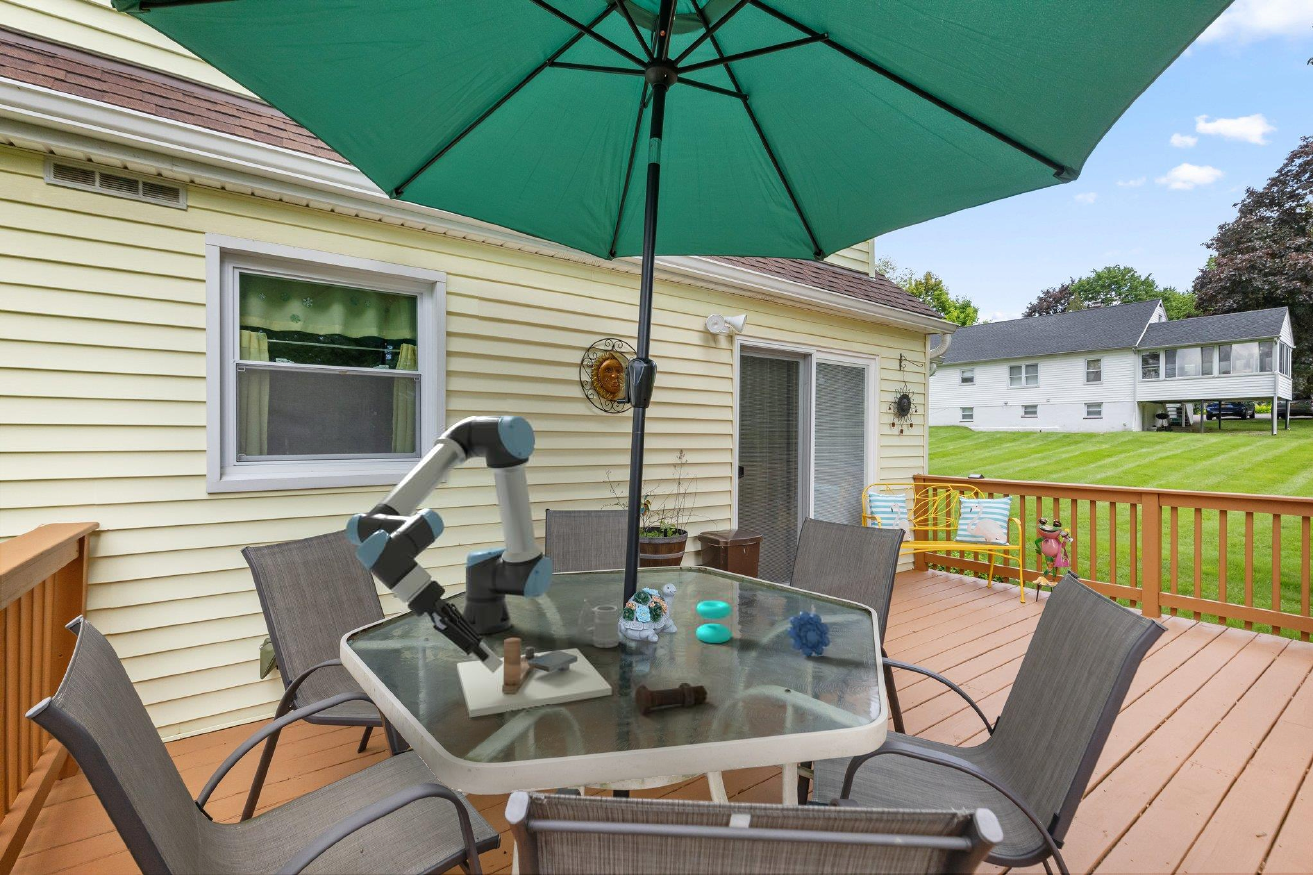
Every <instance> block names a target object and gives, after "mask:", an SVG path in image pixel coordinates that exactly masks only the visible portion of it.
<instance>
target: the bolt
mask: <svg viewBox="0 0 1313 875" xmlns="http://www.w3.org/2000/svg"><path fill="white" fill-rule="evenodd" d="M707 696H708V691H707V689H706V687H705V686H704V685H702V684H701V685H694V686H692V685H691V684H690V683H688V682H682V683H680V684H679V686H678V687H676V688H665V689H657V690H654V689H652V690H650V689H649V688H648V687H647V686H646V685H645V684H641V685H639V686H638V687H637V688H636V690H635V705H636V710H637V711H638V713H639V714H640V715H642V716H645V715H649V714H650V711H651V709H654V708H658V707H659V708H660V707H667V706H668V707H669V706H674V705H675V706H677V705H680V706H681V707H683V708H685V709H686V708H691V707H692V706H693V705H694V703H701V702H705V701H706V700H707V699H708V697H707Z"/></svg>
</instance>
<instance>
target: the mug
mask: <svg viewBox="0 0 1313 875" xmlns="http://www.w3.org/2000/svg"><path fill="white" fill-rule="evenodd" d="M590 606H591V604H590V603H589V601H588V600H587V599H584V600H583V607H582V610H581V611H580V615H579V617H578V621H577V624H578V625H577V626H578V627H577V629H578V630H577V631H578V634H579V635H580V637H581V639H582V640H585V639H586V637H588V636H589V635H592V636H591V640H592V645H593V646H594V647H596V648H600V649H604V648H605V649H609V648H610V649H611V648H614V647H616V646H618V645H619V641H620V636H621V635H620V634H619V623H620V618H619V611H618V610H619V609H618V607H617V606H615V605H599V606H595V607H594V608H591V607H590ZM589 614H594V616H593V622H592V623H593V627H592V626H591V627H590V628H587V627H586V625H585V622H586V617H587V616H588V615H589Z"/></svg>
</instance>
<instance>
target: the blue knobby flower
mask: <svg viewBox="0 0 1313 875" xmlns="http://www.w3.org/2000/svg"><path fill="white" fill-rule="evenodd" d="M789 623H790V625H791V626H789V627H788V628H787V630H786V633H787V636H788V637H789V638H790V639H792V640H791V646H792V648H793V649H794V650H796V651H800V650H801V652H802V655H804V656H805V655H806V656H805V657H808V656H810V657H812V656H811V655H813V654H815V655H816V654H817V655H816V656H821V655H822V656H823V654H824V651H825V650H824V647H825V648H827V647H829V646H830V645H831V640H830V638H829V637H828V635H829V633H830V627H829V626H828V625H827V624H826V623H823V622H822V617H821V616H820V615H819V614H817V613H813V614H810V612H808V611H805V610H802V611H801V610H800V612H799V614H798V616H797V615H793V616H791V617H790V619H789Z"/></svg>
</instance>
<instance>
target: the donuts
mask: <svg viewBox="0 0 1313 875" xmlns="http://www.w3.org/2000/svg"><path fill="white" fill-rule="evenodd" d="M731 612H732V607H731V605H730V604H729V603H727V602H724V601H720V600H705V601H704V600H703V601H701V602H699V603H698V604H697V606H696V613H698V615H699V616H700V617H701V618H705V619H709V620H722V619H725V618H727V617H728V616H730V614H731ZM695 632H696V633H695V634H696V637H697V639H699V640H700V641H702V642H704V643H710V644H722V642H723V643H726V642H728V641H729V640H730V639H731V637H732V632H731V630H730V628H728V627H727V626H725V625H723V624H719V623H705V624H703V625H700V626H699V627H698V628H697V629H696V631H695Z"/></svg>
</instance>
